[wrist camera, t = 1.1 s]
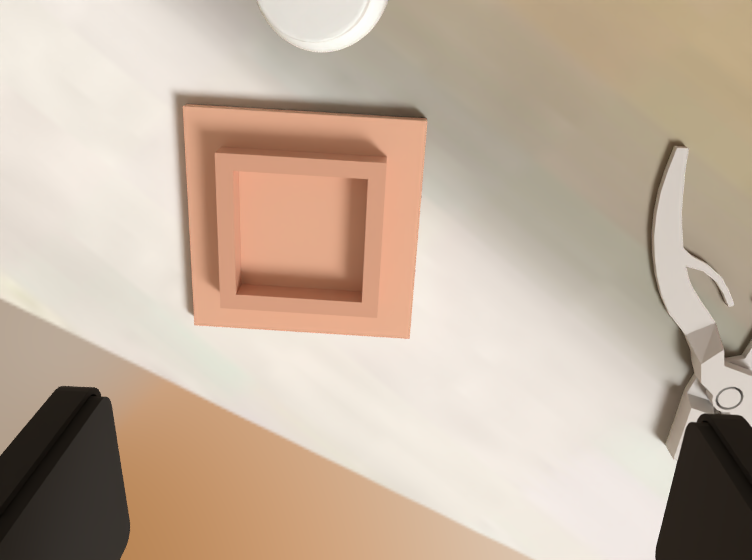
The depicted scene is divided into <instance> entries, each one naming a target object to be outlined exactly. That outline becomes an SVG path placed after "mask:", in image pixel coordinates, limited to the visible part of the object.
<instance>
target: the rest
mask: <svg viewBox="0 0 752 560" xmlns="http://www.w3.org/2000/svg"><path fill="white" fill-rule="evenodd" d="M183 121H184V140H185V158H186V177H187V195H188V214H189V232H190V251H191V269H192V288H193V306H194V325H200V326H216V327H232V328H248V329H264V330H279V331H295V332H311V333H327V334H342V335H358V336H374V337H390V338H405V339H409V338H410V326H411V313H412V301H413V289H414V277H415V265H416V252H417V240H418V228H419V216H420V203H421V191H422V179H423V167H424V155H425V142H426V130H427V118H410V117H393V116H377V115H360V114H344V113H327V112H311V111H294V110H277V109H261V108H244V107H228V106H211V105H194V104H186V105H184V106H183Z"/></svg>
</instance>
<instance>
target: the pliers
mask: <svg viewBox="0 0 752 560" xmlns="http://www.w3.org/2000/svg"><path fill="white" fill-rule="evenodd" d="M688 150H689V148H687V147H684V146H674V148H673V150H672V153H671V155H670V158H669V160H668V163H667V165H666V168H665V170H664V173H663V176H662V180H661V183H660V186H659V189H658V193H657V198H656V203H655V208H654V214H653V224H652V257H653V266H654V274H655V278H656V282H657V286H658V290H659V294H660V296H661V298H662V301H663V303H664V306H665V308H666V310H667V312H668V313H669V314H670V316H671V317H672V318H673V320H674V321H675V322H676V323H677V325H678V326H679V327H680V329H681V330H682V331H683V334H684V336H685V338H686V341H687V343H688V346H689V348H690V350H691V361H692V365H693V369H694V374H693V376H692V377H691V379H690V381H689V382H688V384H687V386H686V387H685V389H684V392H683V394H682V397H681V400H680V403H679V406H678V409H677V412H676V415H675V418H674V421H673V424H672V426H671V429H670V432H669V435H668V438H667V441H666V444H665V445H666V447H667V449H668V451H669V452H670V454H671V456H672V458H673V459H674V460H678V457H679V453H680V449H681V445H682V441H683V437H684V433H685V429H686V426H687V425H688V423H690V422H697V419H698V418H699V416H700V415H701V414H704V413H708V414H714V407H715V408H716V409H717V410H718V411H721V414H732V415H740V416H743V417H744V418H745V419H746V420H747V422H748V423H749V424H750V426H751V427H752V339H751V341H750V342H749V344H748V345H747V347H746V349H745V350H744V352H743V353H742V355H738V356H733V357H727V358H724V348H723V344H722V341H721V338H720V335H719V331H718V328H717V325H716V322H715V321H714V319H713V318H712V316H711V315H710V313H709V312H708V310H707V309H706V308H705V306H704V305H703V303H702V302H701V300H700V299H699V297H698V295H697V293H696V292H695V290H694V288H693V287H692V285H691V283H690V280H689V276H688V273H687V269H686V266H687V267H690V268H694V269H697V270H700V271H704V272H705V273H706V274H707V275H708V276H710V277H711V278H712V279H713V280H714V281H715V283H716V285H717V286H718V288H719V290H720V291H721V294H722V296H723V299H724V301H725V304H726V305H727V306H728V307H731V306H734V302H733V299H732V297H731V294H730V291H729V289H728V288H727V286H726V284H725V282H724V281H723V279H722V277H721V276H720V275H719V274H718V273H717V272H715V271H714V270H713V269H712V268H711V267H710V266H709V265H708V264H707V263H706V262H704V261H702V260H700V259H699V258H697V257H695V256H693V255H691V254H689V253H688V252H687V251H686V250H685V249H684V248H683V235H682V202H683V190H684V180H685V170H686V163H687V157H688Z"/></svg>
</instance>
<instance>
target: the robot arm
mask: <svg viewBox="0 0 752 560" xmlns="http://www.w3.org/2000/svg"><path fill="white" fill-rule="evenodd" d="M129 533H130V520H129V514H128V507H127V501H126V494H125V488H124V482H123V475H122V469H121V462H120V456H119V450H118V444H117V436H116V431H115V425H114V417H113V411H112V405H111V401H110V399H109V398H108V397H101V394H100V392H99V390H98V389H97V388H95V387H93V388H92V387H72V386H61V387H59V388H58V389H56V390H55V391H54V392H53V393H52V395H51V396H50V397H49V398H48V399H47V401H46V402H45V403H44V404H43V405H42V407H41V408H40V409H39V410H38V411H37V413H36V414H35V415H34V416H33V418H32V419H31V420H30V421H29V422H28V423H27V425H26V426H25V427H24V428H23V429H22V431H21V432H20V433H19V434H18V435H17V437H16V438H15V439H14V440H13V441H12V443H11V444H10V445H9V446H8V447H7V449H6V450H5V451H4V452H3V453H2V454H1V456H0V560H120V558H121V556H122V554H123V552H124V550H125V548H126V545H127V542H128V539H129ZM655 557H656V560H752V427H751V426H750V424H749V423H748V422H747V420H746V419H745V418H744V417H743V416H740V415H732V414H708V413H704V414H701V415H700V416H699V418H698V419H697V422H690V423H688V425H687V426H686V429H685V433H684V437H683V441H682V445H681V449H680V453H679V457H678V461H677V465H676V469H675V473H674V477H673V481H672V485H671V489H670V493H669V497H668V501H667V505H666V509H665V513H664V517H663V521H662V526H661V530H660V534H659V538H658V542H657V546H656V556H655Z"/></svg>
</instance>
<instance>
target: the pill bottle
mask: <svg viewBox="0 0 752 560" xmlns="http://www.w3.org/2000/svg"><path fill="white" fill-rule="evenodd" d="M387 2H388V0H257V3H258V6H259V8H260V10H261V13H262V15H263V16H264V18H265V20H266V21H267V23H268V24H269V25H270V26H271V28H272V29H273V30H274V31H275V32H276V33H277V34H278V35H279V36H280V37H282V38H283V39H284V40H286V41H287V42H289V43H290V44H292V45H294V46H296V47H298V48H301V49H304V50H308V51H313V52H332V51H337V50H340V49H343V48H346V47H348V46H350V45H352V44H354V43H356V42H357V41H359V40H360V39H362V38H363V37H364V36H365V35H367V34H368V33H369V32H370V31H371V30H372V28H373V27H374V26H375V25H376V23H377V22H378V20H379V19H380V17H381V15H382V14H383V12H384V10H385V8H386V5H387Z"/></svg>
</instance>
